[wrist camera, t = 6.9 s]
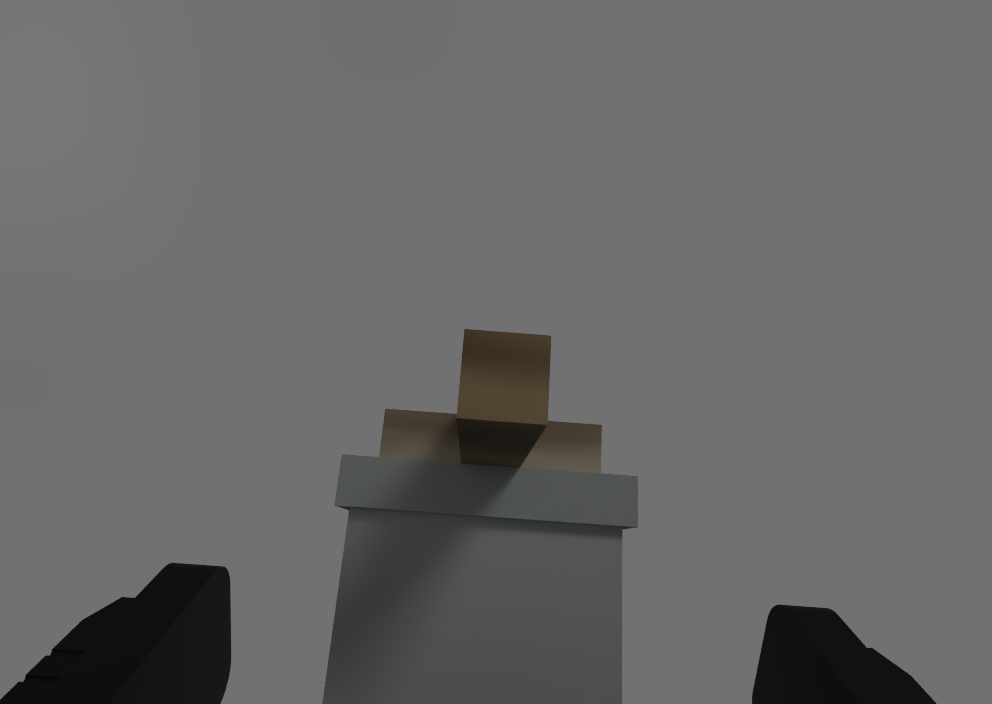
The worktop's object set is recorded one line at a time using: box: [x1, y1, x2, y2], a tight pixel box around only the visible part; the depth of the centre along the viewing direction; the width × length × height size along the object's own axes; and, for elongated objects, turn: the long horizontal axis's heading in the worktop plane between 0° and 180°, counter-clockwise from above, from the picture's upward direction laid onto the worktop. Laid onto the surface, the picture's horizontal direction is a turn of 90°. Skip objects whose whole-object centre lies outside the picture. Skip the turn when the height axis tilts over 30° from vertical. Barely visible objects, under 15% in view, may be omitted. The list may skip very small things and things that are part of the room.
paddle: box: [379, 329, 602, 474], centre depth 26 cm, size 21×9×2 cm, turn 2°
